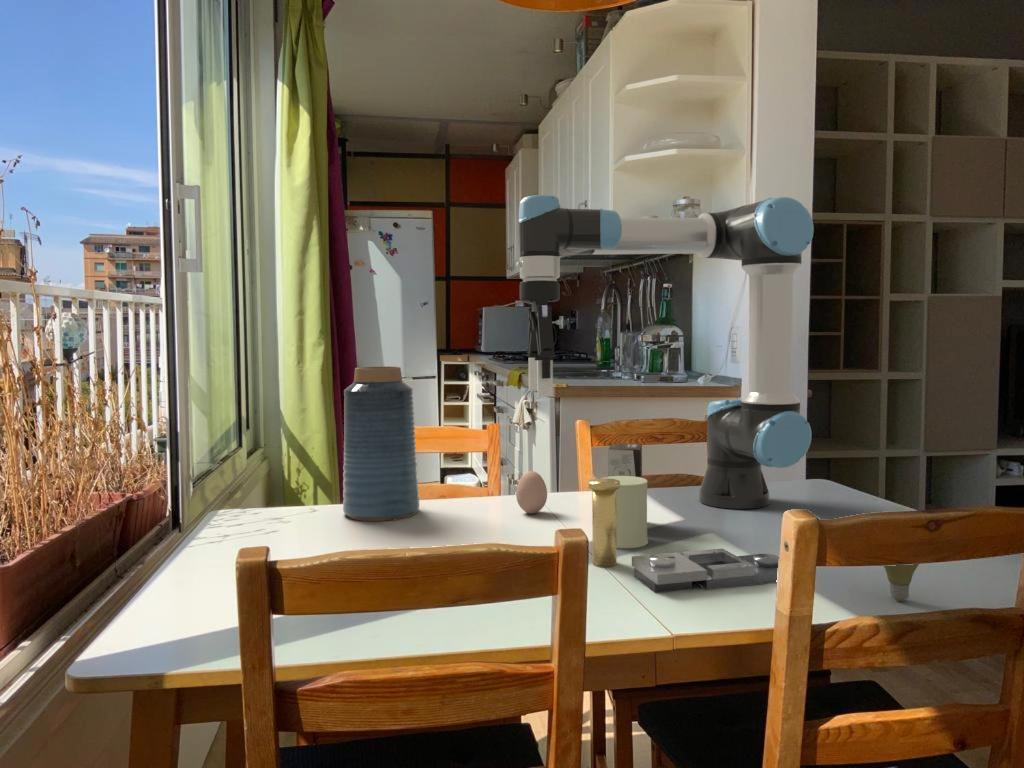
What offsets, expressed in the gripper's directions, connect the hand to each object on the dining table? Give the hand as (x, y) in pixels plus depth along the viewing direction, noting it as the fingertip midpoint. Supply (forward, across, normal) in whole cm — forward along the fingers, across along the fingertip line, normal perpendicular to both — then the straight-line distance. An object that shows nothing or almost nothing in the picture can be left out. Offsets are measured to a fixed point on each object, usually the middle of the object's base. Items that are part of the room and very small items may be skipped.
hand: (540, 393), depth 154 cm
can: (+27, +7, +14) cm, 32 cm away
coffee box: (+27, -5, +18) cm, 33 cm away
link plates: (+27, +30, +24) cm, 47 cm away
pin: (+27, +20, +8) cm, 35 cm away
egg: (+27, -18, 0) cm, 33 cm away
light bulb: (+27, +44, +46) cm, 69 cm away
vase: (+28, -24, -32) cm, 48 cm away
